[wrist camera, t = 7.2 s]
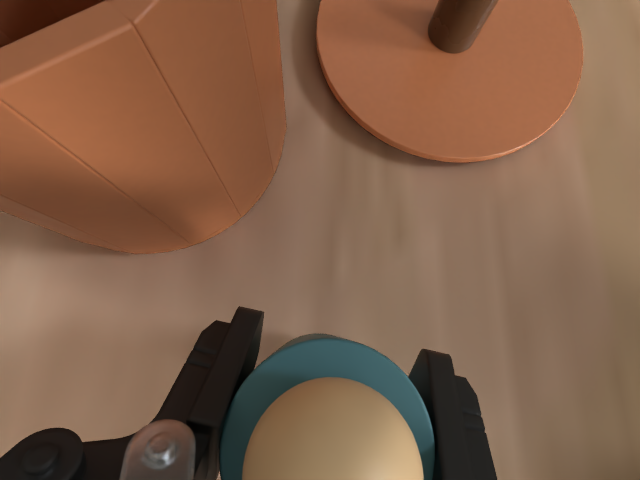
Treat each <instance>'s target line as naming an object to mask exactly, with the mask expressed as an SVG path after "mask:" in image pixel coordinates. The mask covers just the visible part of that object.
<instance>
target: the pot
mask: <svg viewBox="0 0 640 480" xmlns="http://www.w3.org/2000/svg"><path fill="white" fill-rule="evenodd" d="M286 127H287V126H286V114H285V101H284V89H283V77H282V64H281V52H280V40H279V27H278V15H277V2H276V0H0V210H1V211H3V212H6V213H8V214H11V215H14V216H16V217H19V218H21V219H24V220H26V221H29V222H31V223H34V224H37V225H39V226H42V227H44V228H47V229H49V230H52V231H55V232H57V233H60V234H62V235H65V236H67V237H70V238H72V239H75V240H78V241H80V242H84V243H88V244H93V245H97V246H100V247H104V248H107V249H110V250H115V251H121V252H127V253H132V254H133V253H135V254H139V253H145V254H150V253H161V252H169V251H174V250H178V249H183V248H186V247H189V246H192V245H195V244H198V243H201V242H203V241H205V240H207V239H209V238H211V237H213V236H215V235H217V234H219V233H221V232H222V231H224V230H225V229H227V228H228V227H230V226H231V225H233V224H234V223H235V222H237V221H238V220H239V219H240V218H241V217H242V216H244V215H245V214H246V213H247V212H248V211H249V210H250V209H251V208H252V207H253V205H254V204H255V203H256V202H257V201H258V200H259V199H260V197H261V196H262V194H263V193H264V191H265V190H266V188H267V187H268V185H269V184H270V182H271V180H272V178H273V176H274V174H275V172H276V169H277V166H278V163H279V160H280V158H281V154H282V149H283V143H284V136H285V133H286Z"/></svg>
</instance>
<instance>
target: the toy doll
mask: <svg viewBox="0 0 640 480" xmlns="http://www.w3.org/2000/svg"><path fill="white" fill-rule="evenodd" d="M434 463H435V441H434V435H433V429H432V425H431V421H430V418H429V414H428V412H427V409H426V407H425V404H424V402H423V400H422V398H421V396H420V394H419V393H418V391H417V389H416V387H415V386H414V385H413V383H412V382H411V381H410V379H409V378H408V376H407V375H406V374H405V373H404V372H403V371H402V370H401V369H400V368H399V367H398V366H397V365H396V364H395V363H393V362H392V361H391V360H390V359H389V358H387V357H386V356H384V355H383V354H381V353H379V352H378V351H376V350H375V349H372V348H370V347H368V346H366V345H363V344H361V343H357V342H354V341H351V340H347V339H343V338H340V337H336V336H333V335H328V334H308V335H304V336H300V337H298V338H295V339H293V340H291V341H289V342H287V343H286V344H285V345H283V346H282V347H281V348H279V349H278V350H277V351H276V352H274V353H273V354H272V355H270V356H269V357H268V358H267V359H265V360H264V361H263V362H262V363H261V364H259V365H258V366H257V367H256V368H255V369H254V370H253V371H252V372H251V373H250V375H249V376H248V377H247V378H246V380H245V381H244V382H243V383H242V385H241V386H240V388H239V389H238V391H237V393H236V394H235V396H234V398H233V400H232V402H231V404H230V407H229V409H228V412H227V416H226V420H225V423H224V427H223V431H222V435H221V440H220V448H219V466H220V476H221V480H432V477H433V470H434Z"/></svg>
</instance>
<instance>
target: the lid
mask: <svg viewBox="0 0 640 480" xmlns="http://www.w3.org/2000/svg"><path fill="white" fill-rule="evenodd" d="M316 44H317V52H318V57H319V61H320V65H321V68H322V71H323V74H324V76H325V78H326V81H327V83H328V85H329V87H330V89H331V90H332V92H333V94H334V95H335V97H336V99H337V100H338V101H339V103H340V104H341V105H342V106H343V108H344V109H345V110H346V111H347V113H348V114H349V115H350V116H351V117H352V118H353V119H354V120H355V121H356V122H358V123H359V124H360V125H361V126H362V127H363V128H364V129H366V130H367V131H368V132H370V133H371V134H372V135H374V136H375V137H377V138H378V139H380V140H382V141H384V142H385V143H387V144H389V145H391V146H393V147H395V148H397V149H400V150H402V151H404V152H407V153H409V154H413V155H416V156H419V157H423V158H426V159H432V160H438V161H444V162H475V161H484V160H489V159H493V158H498V157H501V156H504V155H507V154H510V153H512V152H515V151H517V150H519V149H521V148H523V147H525V146H527V145H529V144H530V143H532V142H533V141H534V140H536V139H537V138H539V137H540V136H541V135H543V134H544V133H545V132H546V131H548V130H549V129H550V128H551V127H552V126H553V125H554V124H555V123H556V122H557V121H558V120H559V119H560V117H561V116H562V115H563V113H564V112H565V111H566V109H567V108H568V107H569V105H570V103H571V101H572V99H573V97H574V95H575V93H576V90H577V87H578V84H579V81H580V78H581V72H582V66H583V44H582V37H581V31H580V28H579V25H578V21H577V18H576V16H575V13H574V11H573V9H572V6H571V4H570V2H569V1H568V0H321V2H320V5H319V10H318V15H317V25H316Z"/></svg>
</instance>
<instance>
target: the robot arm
mask: <svg viewBox="0 0 640 480" xmlns="http://www.w3.org/2000/svg"><path fill="white" fill-rule="evenodd" d="M263 318H264V312H262V311H258V310H254V309H249V308H245V307H240V306H239V307H238V308H237V310H236V312H235V314H234V317H233V319H232V321H231V323H226V322H222V321H218V320H216V321H214V322H213V323H212V324H211V325H210V326H208V327H207V328H206V329H205V330H203V331H202V332H201V334H200V336H199V338H198V340H197V342H196V344H195V345H194V348H193V350H192V351H191V353H190V355H189V357H188V358H187V361H186V363H185V364H184V366H183V368H182V370H181V371H180V373H179V375H178V377H177V379H176V381H175V383H174V385H173V386H172V388H171V390H170V392H169V394H168V396H167V398H166V399H165V401H164V403H163V405H162V407H161V409H160V411H159V412H158V414H157V415H156V417H155V418H154V419H153V420H152V421H151V422H150V423H149V424H148V425H146V426H144V427H143V428H142V429H140V430H139V431H138V432H136V433H134V434H132V435H129V436H126V437H123V438H118V439H110V440H100V441H90V442H82V441H81V439H80V438H79V436H78V435H77V434H76V433H75V432H73V431H71V430H69V429H65V428H50V429H45V430H42V431H39V432H36V433H34V434H32V435H30V436H28V437H26V438H25V439H23V440H22V441H20V442H19V443H18V444H16V445H15V446H14V447H13V448H12V449H11V450H9V451H8V452H7V453H6V454H5V455H4V456H2V457H1V458H0V480H216V479H217V476H218V473H219V470H220V466H219V448H220V440H221V435H222V431H223V427H224V423H225V420H226V416H227V412H228V409H229V407H230V404H231V402H232V400H233V398H234V396H235V394H236V393H237V391H238V389H239V388H240V386H241V385H242V383H243V382H244V381H245V380H246V378H247V377H248V376H249V375H250V373H251V372H252V371H253V370H254V368H255V364H256V361H257V357H258V352H259V347H260V340H261V333H262V326H263ZM408 378H409V379H410V381H411V382H412V383H413V385H414V386H415V387H416V389H417V391H418V393H419V394H420V396H421V398H422V400H423V402H424V404H425V407H426V409H427V412H428V414H429V418H430V421H431V425H432V429H433V435H434V441H435V463H434V470H433V477H432V480H497V477H496V472H495V468H494V464H493V460H492V456H491V452H490V448H489V444H488V440H487V435H486V433H485V432H484V431H485V427H484V423H483V419H482V417H481V411H480V407H479V403H478V399H477V395H476V393H475V392H474V390H473V389H472V387H471V386H470V384H469V382H468V381H467V379H466V378H464V377H460V376H456V375H455V374H454V369H453V364H452V359H451V356H450V355H449V354H444V353H440V352H436V351H431V350H427V349H422V350H421V351H420V353H419V355H418V357H417V359H416V362H415V364H414V366H413V368H412V370H411V372H410V374H409V377H408Z"/></svg>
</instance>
